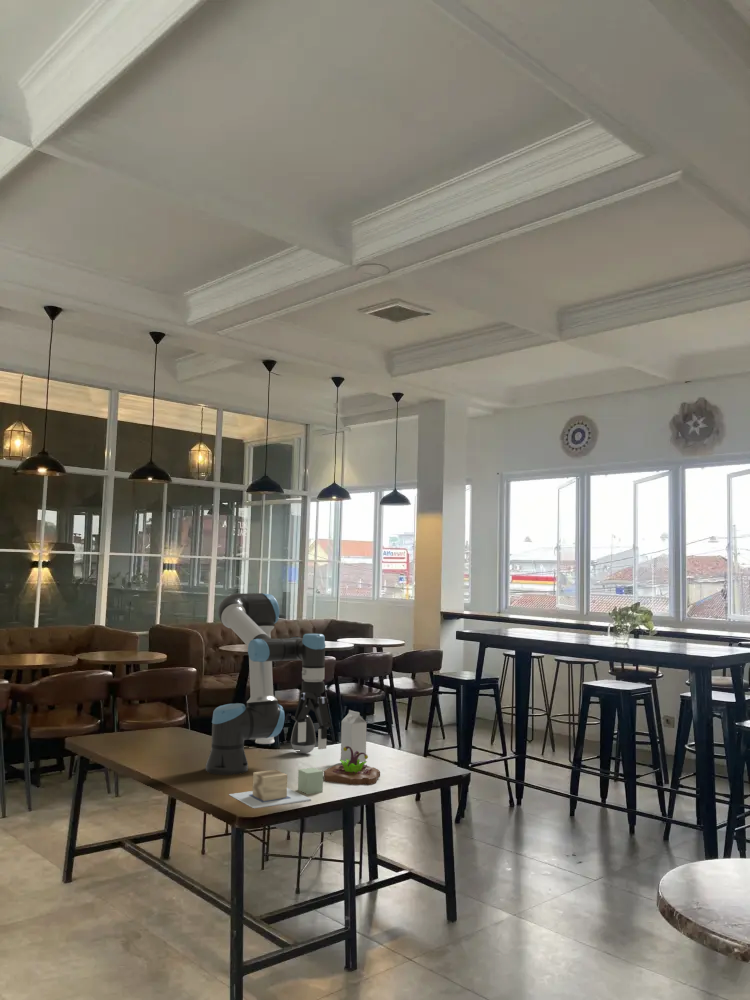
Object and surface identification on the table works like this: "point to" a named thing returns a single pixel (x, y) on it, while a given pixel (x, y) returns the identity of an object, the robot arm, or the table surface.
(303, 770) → the sage block
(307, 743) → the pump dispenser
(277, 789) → the maple block
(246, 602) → the robot arm
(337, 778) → the plant
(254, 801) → the blueprint mat
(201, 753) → the table surface
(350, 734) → the milk carton
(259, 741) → the jar
